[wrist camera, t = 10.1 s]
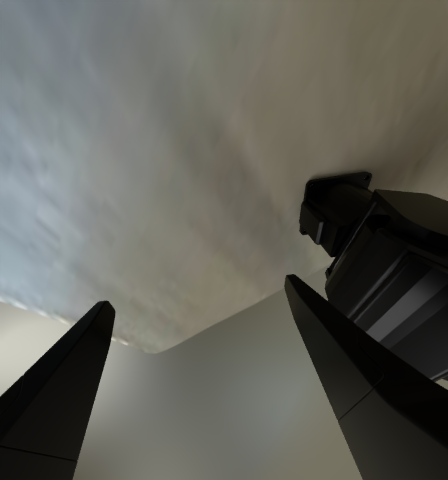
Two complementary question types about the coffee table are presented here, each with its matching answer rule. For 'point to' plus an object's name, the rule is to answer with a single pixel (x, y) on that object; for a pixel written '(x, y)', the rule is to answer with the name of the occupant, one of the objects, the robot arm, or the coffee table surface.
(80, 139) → the coffee table surface
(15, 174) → the coffee table surface
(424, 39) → the coffee table surface
